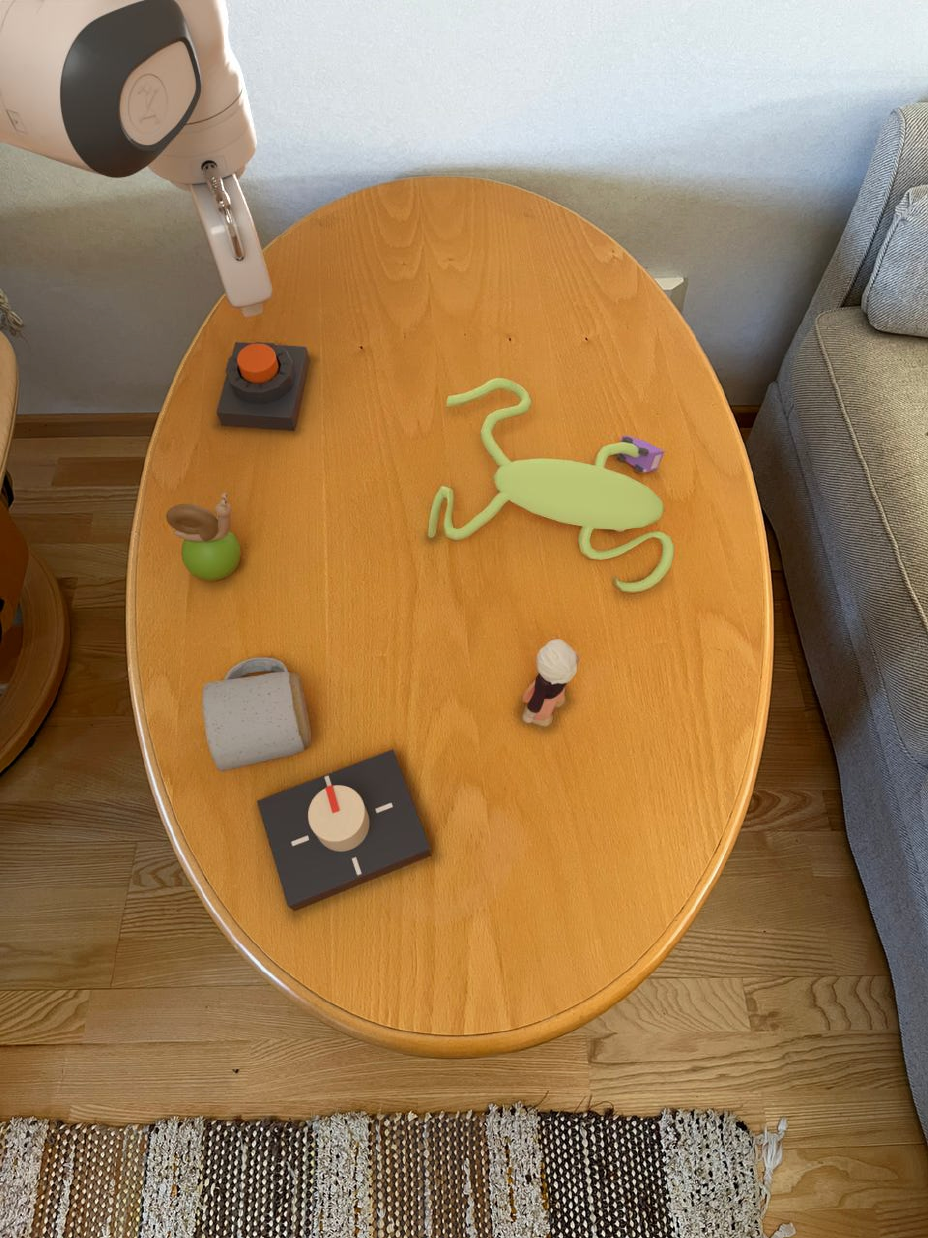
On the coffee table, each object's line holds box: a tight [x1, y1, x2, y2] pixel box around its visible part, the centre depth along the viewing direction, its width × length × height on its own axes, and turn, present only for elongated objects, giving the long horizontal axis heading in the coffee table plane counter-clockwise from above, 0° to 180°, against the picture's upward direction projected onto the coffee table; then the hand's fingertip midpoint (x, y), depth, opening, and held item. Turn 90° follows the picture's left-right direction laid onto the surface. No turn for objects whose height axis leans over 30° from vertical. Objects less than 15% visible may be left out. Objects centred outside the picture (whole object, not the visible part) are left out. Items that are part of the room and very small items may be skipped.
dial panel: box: [256, 749, 432, 912], centre depth 70 cm, size 12×9×3 cm
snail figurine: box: [165, 492, 242, 582], centre depth 77 cm, size 5×6×12 cm
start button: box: [237, 344, 278, 384], centre depth 88 cm, size 4×4×2 cm
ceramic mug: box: [201, 656, 312, 772], centre depth 72 cm, size 11×8×8 cm
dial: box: [308, 785, 369, 852], centre depth 67 cm, size 4×4×4 cm
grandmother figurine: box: [521, 638, 581, 728], centre depth 71 cm, size 8×4×13 cm, turn 155°
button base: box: [216, 341, 310, 432], centre depth 91 cm, size 10×8×4 cm
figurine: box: [427, 377, 675, 594], centre depth 84 cm, size 18×27×6 cm
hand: (239, 273), depth 76 cm, fingers open, 8 cm apart
